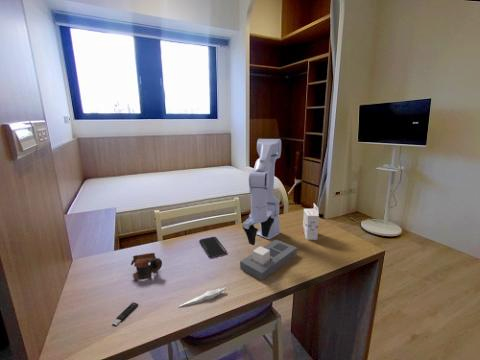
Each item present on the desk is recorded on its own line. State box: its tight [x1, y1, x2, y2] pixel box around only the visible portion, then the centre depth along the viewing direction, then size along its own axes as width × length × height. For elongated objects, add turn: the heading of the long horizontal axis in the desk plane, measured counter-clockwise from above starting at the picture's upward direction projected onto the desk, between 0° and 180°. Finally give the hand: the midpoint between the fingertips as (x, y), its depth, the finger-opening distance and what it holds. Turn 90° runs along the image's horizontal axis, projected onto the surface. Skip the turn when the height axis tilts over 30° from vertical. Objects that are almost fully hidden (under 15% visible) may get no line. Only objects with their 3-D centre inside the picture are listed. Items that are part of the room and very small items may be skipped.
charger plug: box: [252, 245, 270, 266], centre depth 88 cm, size 4×4×6 cm
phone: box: [198, 236, 228, 259], centre depth 102 cm, size 8×1×15 cm
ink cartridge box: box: [302, 202, 320, 241], centre depth 110 cm, size 9×5×15 cm, turn 179°
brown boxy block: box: [130, 252, 163, 281], centre depth 86 cm, size 12×10×8 cm
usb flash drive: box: [111, 301, 139, 327], centre depth 68 cm, size 8×2×1 cm, turn 161°
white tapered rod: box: [177, 287, 227, 308], centre depth 73 cm, size 15×3×2 cm, turn 115°
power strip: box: [239, 239, 298, 281], centre depth 92 cm, size 22×10×3 cm, turn 136°
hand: (258, 240), depth 89 cm, fingers open, 7 cm apart
